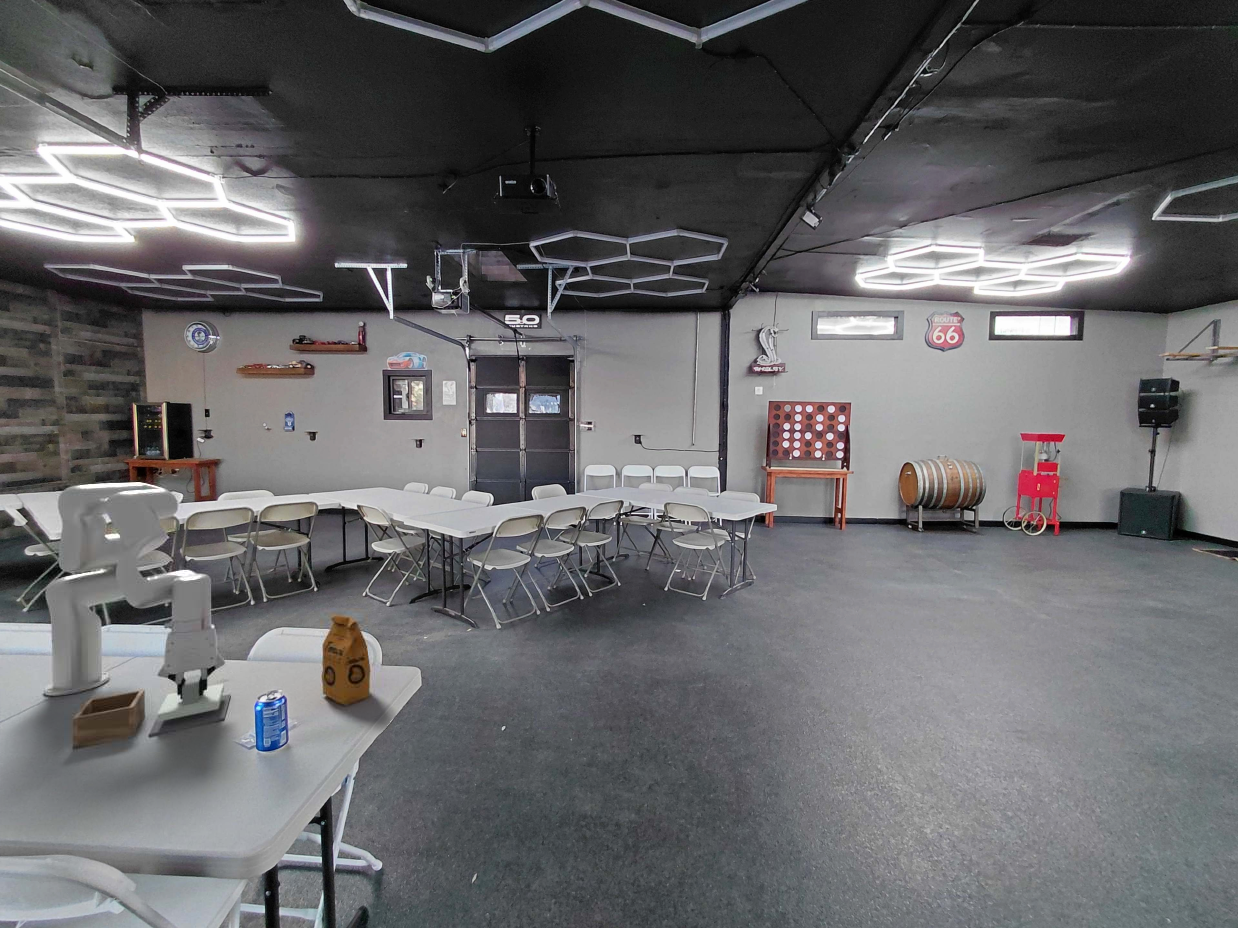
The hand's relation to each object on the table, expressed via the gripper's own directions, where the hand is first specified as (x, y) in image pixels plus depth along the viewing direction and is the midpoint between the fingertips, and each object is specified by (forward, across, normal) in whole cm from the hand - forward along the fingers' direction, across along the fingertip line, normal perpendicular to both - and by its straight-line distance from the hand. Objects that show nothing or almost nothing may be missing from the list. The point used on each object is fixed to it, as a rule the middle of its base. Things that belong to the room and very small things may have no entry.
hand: (192, 694), depth 127 cm
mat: (+5, 0, 0) cm, 5 cm away
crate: (+5, -15, 0) cm, 16 cm away
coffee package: (+6, +34, -9) cm, 36 cm away
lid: (+3, 0, 0) cm, 3 cm away
